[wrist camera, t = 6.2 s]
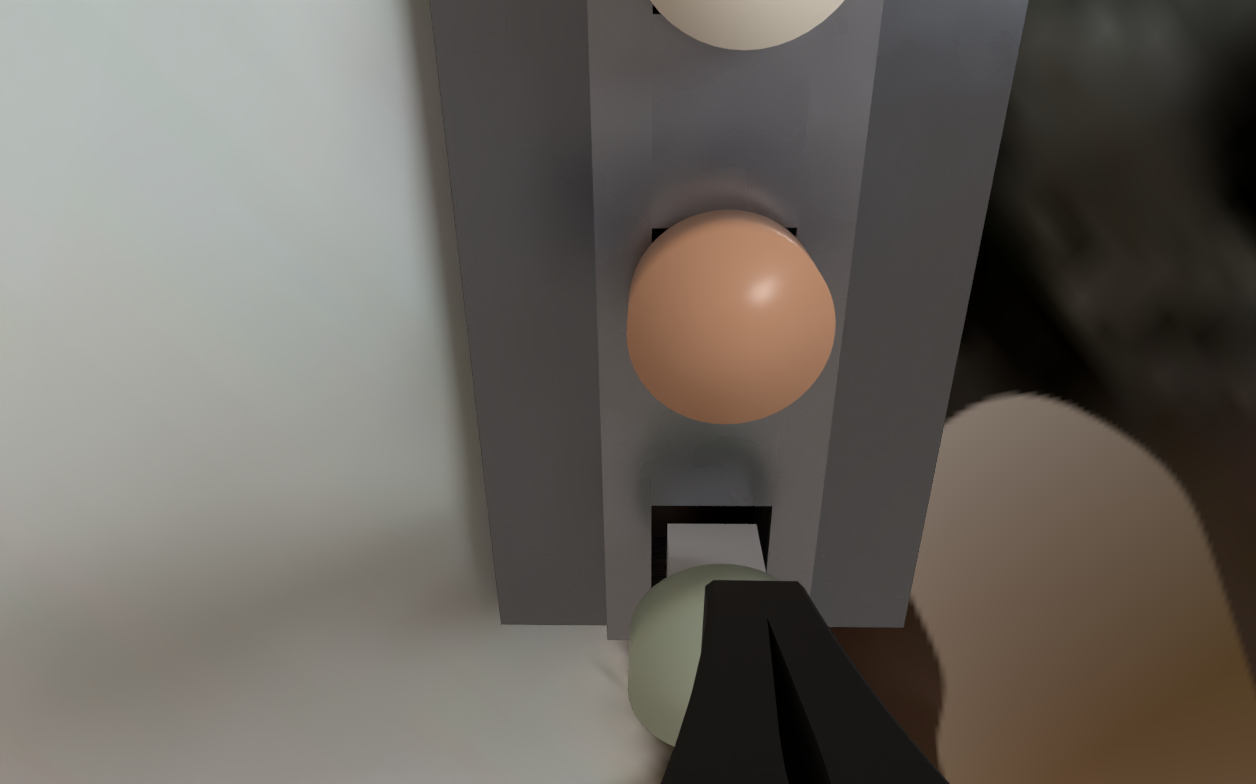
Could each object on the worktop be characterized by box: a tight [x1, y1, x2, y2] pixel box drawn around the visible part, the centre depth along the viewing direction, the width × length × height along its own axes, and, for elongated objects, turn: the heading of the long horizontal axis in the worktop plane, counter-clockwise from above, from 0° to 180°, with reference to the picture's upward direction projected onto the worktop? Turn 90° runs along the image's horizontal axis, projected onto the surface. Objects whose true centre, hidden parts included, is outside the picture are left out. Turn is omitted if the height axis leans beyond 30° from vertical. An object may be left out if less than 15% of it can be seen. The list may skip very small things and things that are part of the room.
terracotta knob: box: [627, 210, 836, 424], centre depth 17 cm, size 4×4×4 cm
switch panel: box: [430, 0, 1029, 640], centre depth 18 cm, size 12×22×3 cm, turn 1°
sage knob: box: [628, 524, 780, 747], centre depth 18 cm, size 4×4×4 cm
